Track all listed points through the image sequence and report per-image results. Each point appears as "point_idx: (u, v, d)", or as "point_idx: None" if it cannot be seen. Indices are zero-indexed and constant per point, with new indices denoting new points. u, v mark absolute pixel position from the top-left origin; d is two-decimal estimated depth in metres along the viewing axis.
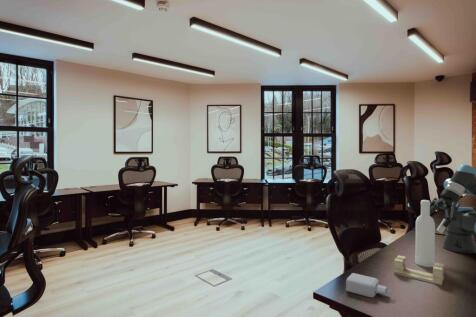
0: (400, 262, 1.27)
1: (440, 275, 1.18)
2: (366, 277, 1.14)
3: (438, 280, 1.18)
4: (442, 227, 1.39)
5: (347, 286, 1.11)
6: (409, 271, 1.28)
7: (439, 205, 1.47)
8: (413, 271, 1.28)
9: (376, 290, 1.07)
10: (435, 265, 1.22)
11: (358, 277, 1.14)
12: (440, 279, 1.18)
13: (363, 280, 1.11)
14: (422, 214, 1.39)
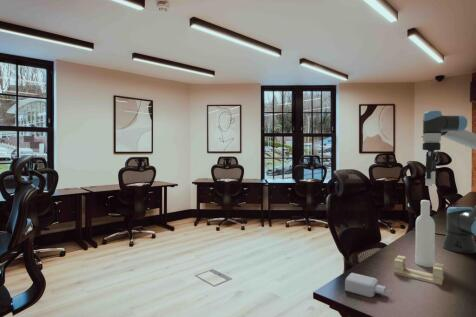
0: (400, 262, 1.27)
1: (440, 275, 1.18)
2: (365, 277, 1.14)
3: (438, 280, 1.18)
4: (428, 180, 1.43)
5: (346, 286, 1.12)
6: (409, 271, 1.28)
7: None
8: (413, 271, 1.28)
9: (375, 290, 1.07)
10: (435, 265, 1.22)
11: (357, 276, 1.14)
12: (440, 279, 1.18)
13: (362, 280, 1.11)
14: (422, 214, 1.39)
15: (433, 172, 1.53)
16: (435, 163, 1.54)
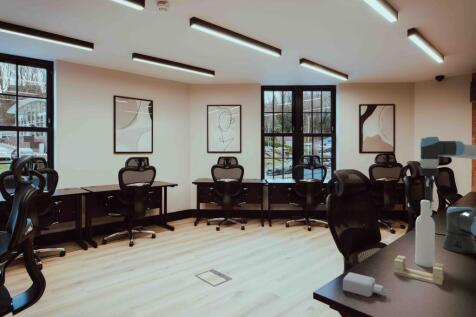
0: (400, 262, 1.27)
1: (440, 275, 1.18)
2: (363, 276, 1.14)
3: (438, 280, 1.18)
4: None
5: (344, 285, 1.12)
6: (409, 271, 1.28)
7: None
8: (413, 271, 1.28)
9: (373, 289, 1.08)
10: (435, 265, 1.22)
11: (355, 276, 1.14)
12: (440, 279, 1.18)
13: (360, 279, 1.11)
14: (422, 214, 1.39)
15: (430, 203, 1.48)
16: (432, 192, 1.51)
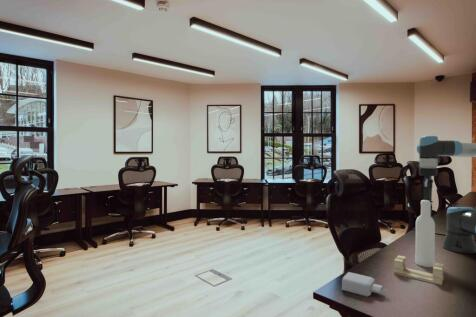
0: (400, 262, 1.27)
1: (440, 275, 1.18)
2: (362, 276, 1.14)
3: (438, 280, 1.18)
4: None
5: (343, 285, 1.12)
6: (409, 271, 1.28)
7: None
8: (413, 271, 1.28)
9: (371, 289, 1.08)
10: (435, 265, 1.22)
11: (354, 276, 1.15)
12: (440, 279, 1.18)
13: (359, 279, 1.12)
14: (422, 214, 1.39)
15: None
16: (431, 193, 1.48)
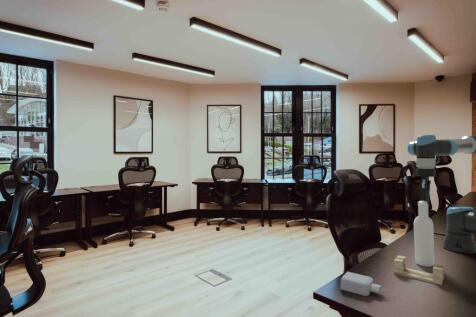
0: (400, 262, 1.27)
1: (440, 275, 1.18)
2: (361, 276, 1.15)
3: (438, 280, 1.18)
4: None
5: (342, 285, 1.12)
6: (409, 271, 1.28)
7: None
8: (413, 271, 1.28)
9: (370, 289, 1.08)
10: (435, 265, 1.22)
11: (353, 275, 1.15)
12: (440, 279, 1.18)
13: (358, 279, 1.12)
14: (420, 216, 1.35)
15: None
16: None
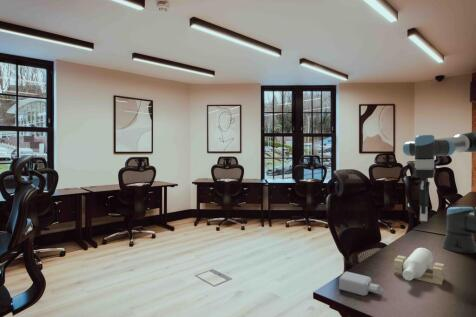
0: (400, 262, 1.27)
1: (440, 275, 1.18)
2: (359, 275, 1.15)
3: (438, 280, 1.18)
4: (423, 215, 1.35)
5: (340, 284, 1.13)
6: None
7: None
8: None
9: (368, 288, 1.09)
10: (435, 265, 1.22)
11: (351, 275, 1.15)
12: (440, 279, 1.18)
13: (356, 278, 1.12)
14: None
15: None
16: None
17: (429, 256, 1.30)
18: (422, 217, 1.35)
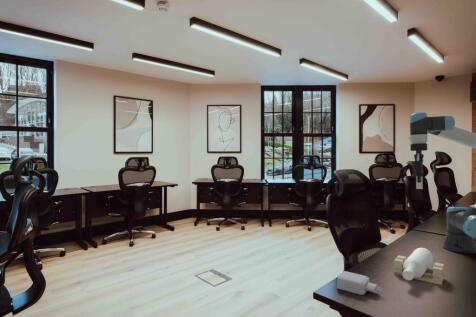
0: (400, 262, 1.27)
1: (440, 275, 1.18)
2: (357, 275, 1.15)
3: (438, 280, 1.18)
4: (418, 184, 1.53)
5: (338, 284, 1.13)
6: None
7: None
8: None
9: (366, 288, 1.09)
10: (435, 265, 1.22)
11: (349, 275, 1.16)
12: (440, 279, 1.18)
13: (354, 278, 1.13)
14: None
15: None
16: None
17: (429, 256, 1.30)
18: (418, 185, 1.53)
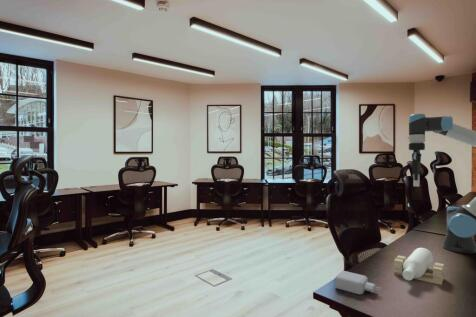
0: (400, 262, 1.27)
1: (440, 275, 1.18)
2: (355, 275, 1.16)
3: (438, 280, 1.18)
4: (415, 181, 1.61)
5: (336, 283, 1.14)
6: None
7: None
8: None
9: (364, 287, 1.09)
10: (435, 265, 1.22)
11: (347, 274, 1.16)
12: (440, 279, 1.18)
13: (352, 277, 1.13)
14: None
15: None
16: None
17: (429, 256, 1.30)
18: (415, 183, 1.61)
